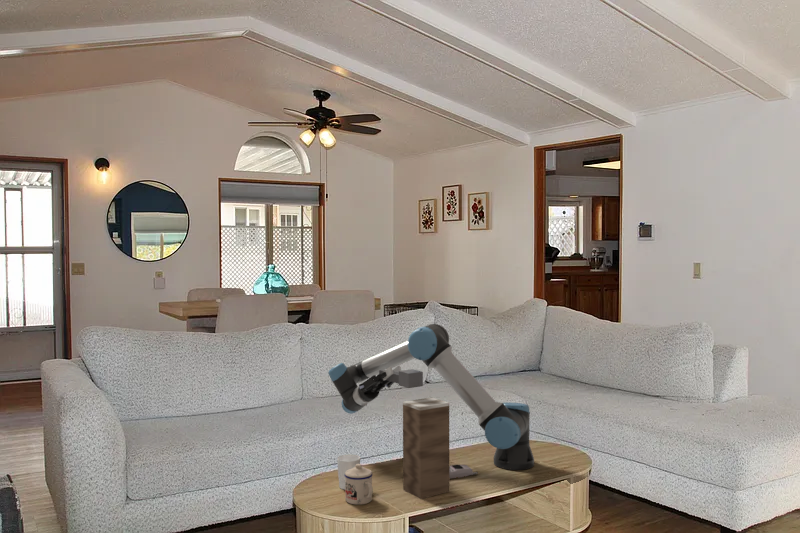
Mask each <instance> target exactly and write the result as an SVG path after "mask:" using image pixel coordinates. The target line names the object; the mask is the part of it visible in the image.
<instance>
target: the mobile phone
mask: <svg viewBox="0 0 800 533" xmlns="http://www.w3.org/2000/svg"><path fill="white" fill-rule="evenodd" d="M473 475H478V471H473V468H471V467H470V466H469V465H467V464H451V465H449V478H450V479H457V478H456V477H458V478H464V476H465V477H468V476H473Z"/></svg>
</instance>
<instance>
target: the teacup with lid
mask: <svg viewBox="0 0 800 533" xmlns="http://www.w3.org/2000/svg"><path fill="white" fill-rule="evenodd" d="M373 475H374V474H373V472H372V470H371V469H370V468H366V467H364V466H362V464H361V463H360V464H356V465H355V467H354V468H352V469H349V470H347V471H346V472H345V490H344V491H345V492H344V493H345V496H344V498H345V501H346V502H347V503H348V504H350V505H357V506H358V505H365V504H369V503H370V502H371V501H372V500H373Z"/></svg>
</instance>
